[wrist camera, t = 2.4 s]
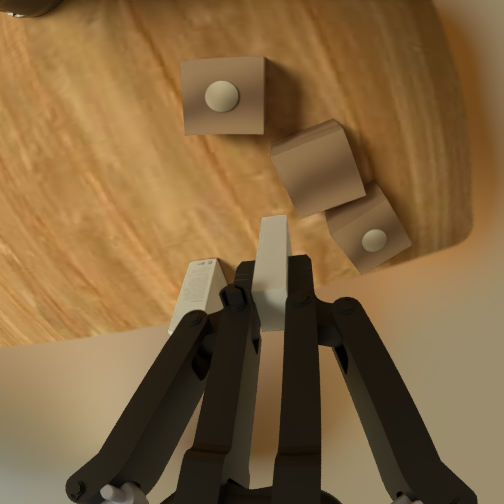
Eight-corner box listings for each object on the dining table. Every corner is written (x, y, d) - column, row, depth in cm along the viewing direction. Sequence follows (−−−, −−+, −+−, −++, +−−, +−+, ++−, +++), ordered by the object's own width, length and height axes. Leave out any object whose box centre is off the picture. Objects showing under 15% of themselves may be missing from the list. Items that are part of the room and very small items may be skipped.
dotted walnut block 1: (195, 60, 24) (179, 61, 20) (266, 57, 24) (263, 56, 20) (198, 123, 28) (184, 136, 24) (265, 122, 28) (263, 134, 24)
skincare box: (188, 261, 40) (162, 331, 30) (219, 256, 39) (200, 329, 29) (204, 293, 43) (185, 361, 34) (232, 289, 42) (219, 361, 33)
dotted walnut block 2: (324, 211, 34) (330, 236, 29) (373, 179, 30) (387, 199, 26) (353, 249, 36) (362, 276, 32) (399, 221, 33) (413, 245, 29)
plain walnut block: (271, 142, 29) (270, 157, 25) (333, 118, 27) (343, 129, 23) (297, 196, 33) (300, 219, 29) (355, 175, 30) (366, 195, 26)
